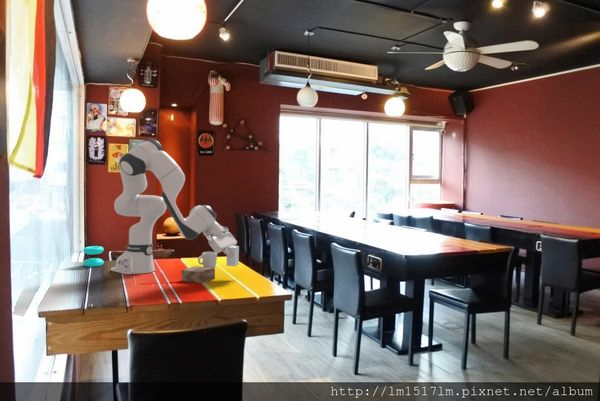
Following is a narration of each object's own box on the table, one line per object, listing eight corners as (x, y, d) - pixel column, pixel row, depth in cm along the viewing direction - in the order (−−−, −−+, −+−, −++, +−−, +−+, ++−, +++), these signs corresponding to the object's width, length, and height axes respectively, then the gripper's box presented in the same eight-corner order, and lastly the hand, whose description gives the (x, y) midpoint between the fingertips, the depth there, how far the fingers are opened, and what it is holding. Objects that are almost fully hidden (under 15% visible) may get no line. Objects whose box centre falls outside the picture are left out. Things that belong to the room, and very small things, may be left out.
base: (181, 280, 215) (181, 269, 215) (196, 276, 225) (196, 266, 225) (200, 283, 211) (201, 272, 210) (214, 278, 221) (214, 268, 220)
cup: (202, 270, 239) (202, 255, 239) (194, 267, 245) (194, 253, 245) (219, 267, 247) (220, 253, 246) (212, 265, 253) (212, 251, 252)
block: (226, 265, 220) (226, 247, 219) (230, 263, 224) (230, 245, 223) (235, 266, 219) (235, 247, 218) (238, 264, 223) (238, 246, 222)
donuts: (87, 249, 239) (80, 246, 246) (87, 268, 239) (80, 265, 246) (106, 247, 246) (99, 245, 253) (106, 265, 246) (99, 263, 253)
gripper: (210, 232, 212) (229, 254, 210) (228, 227, 232) (246, 247, 230) (201, 241, 213) (220, 263, 212) (220, 235, 233) (237, 255, 231)
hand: (233, 255), depth 221 cm, fingers closed on block, 4 cm apart
